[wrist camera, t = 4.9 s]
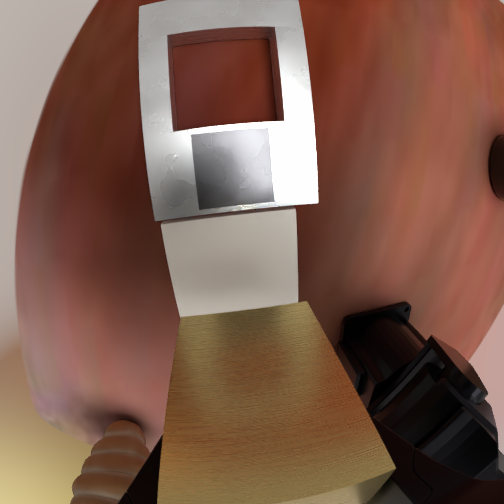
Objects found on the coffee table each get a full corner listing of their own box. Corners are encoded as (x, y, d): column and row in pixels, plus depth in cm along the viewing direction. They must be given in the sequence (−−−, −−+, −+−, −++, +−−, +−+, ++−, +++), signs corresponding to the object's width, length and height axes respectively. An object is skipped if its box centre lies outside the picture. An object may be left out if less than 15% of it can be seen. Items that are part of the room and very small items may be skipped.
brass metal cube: (306, 300, 10) (396, 468, 4) (304, 384, 12) (351, 518, 5) (180, 316, 10) (157, 507, 3) (203, 398, 11) (207, 541, 5)
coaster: (292, 206, 17) (295, 208, 17) (295, 315, 20) (298, 321, 19) (163, 221, 17) (160, 224, 16) (185, 329, 20) (184, 336, 19)
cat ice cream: (143, 450, 25) (134, 579, 8) (84, 420, 23) (52, 554, 6) (182, 424, 23) (183, 589, 7) (112, 387, 21) (73, 566, 4)
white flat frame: (289, 8, 13) (297, -7, 11) (307, 197, 17) (318, 203, 15) (146, 19, 12) (139, 5, 10) (161, 213, 16) (154, 221, 15)
